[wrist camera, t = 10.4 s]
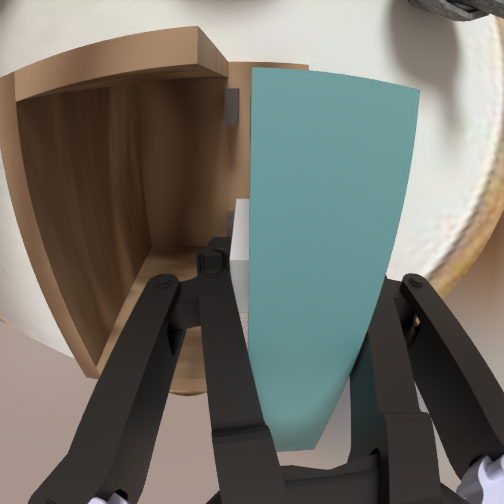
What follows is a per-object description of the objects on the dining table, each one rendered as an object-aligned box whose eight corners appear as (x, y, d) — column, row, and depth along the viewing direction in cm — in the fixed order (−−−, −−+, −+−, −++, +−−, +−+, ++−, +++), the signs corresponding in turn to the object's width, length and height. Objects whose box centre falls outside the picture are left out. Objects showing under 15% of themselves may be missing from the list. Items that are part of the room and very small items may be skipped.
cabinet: (145, 250, 34) (86, 377, 18) (126, 72, 23) (-6, 80, 8) (293, 251, 34) (323, 389, 19) (305, 66, 24) (390, 42, 8)
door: (247, 305, 23) (246, 452, 13) (250, 82, 15) (248, 67, 5) (310, 305, 23) (339, 446, 13) (335, 87, 15) (466, 104, 5)
